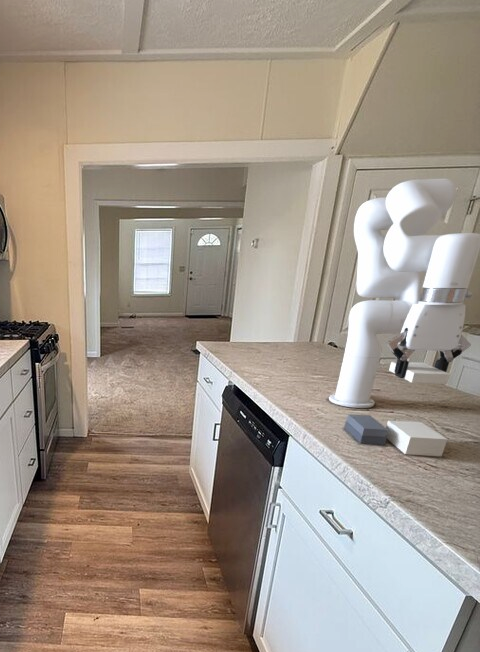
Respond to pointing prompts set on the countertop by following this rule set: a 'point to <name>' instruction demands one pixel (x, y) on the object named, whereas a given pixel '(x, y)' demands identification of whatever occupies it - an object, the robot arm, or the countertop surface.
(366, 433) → the grey books
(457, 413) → the countertop surface
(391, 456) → the countertop surface
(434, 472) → the countertop surface
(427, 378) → the white book
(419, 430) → the white books
